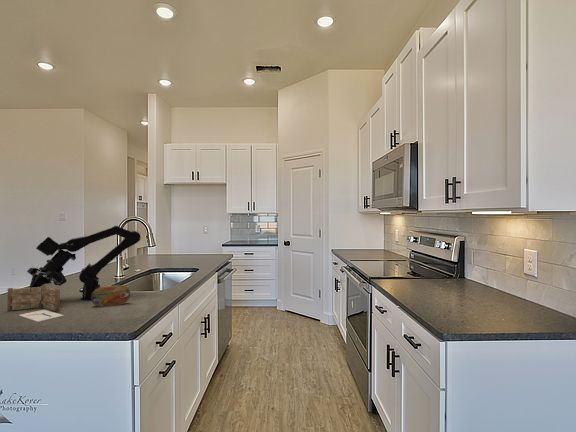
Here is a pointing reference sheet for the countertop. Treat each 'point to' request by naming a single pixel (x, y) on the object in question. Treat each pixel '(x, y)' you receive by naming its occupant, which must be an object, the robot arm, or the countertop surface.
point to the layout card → (40, 315)
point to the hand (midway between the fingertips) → (29, 292)
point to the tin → (110, 296)
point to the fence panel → (23, 298)
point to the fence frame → (50, 298)
